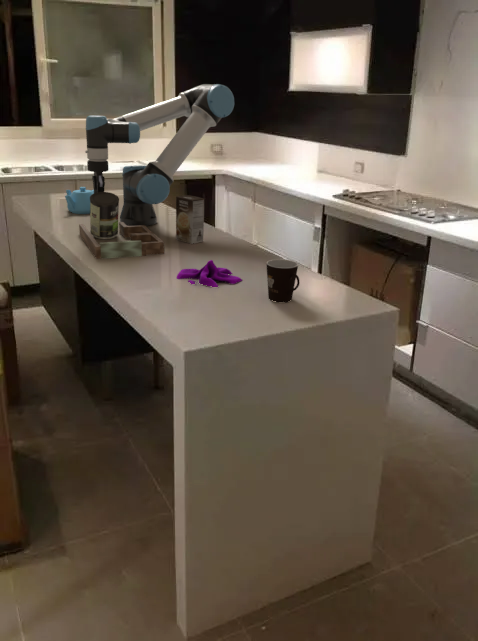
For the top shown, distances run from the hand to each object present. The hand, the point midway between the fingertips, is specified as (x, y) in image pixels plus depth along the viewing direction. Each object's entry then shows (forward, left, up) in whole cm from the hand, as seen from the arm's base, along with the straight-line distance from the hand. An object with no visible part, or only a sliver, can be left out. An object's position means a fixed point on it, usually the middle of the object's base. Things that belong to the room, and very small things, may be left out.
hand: (100, 223), depth 234 cm
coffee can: (0, +6, -2) cm, 6 cm away
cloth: (-20, +68, -4) cm, 71 cm away
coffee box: (-29, +19, -4) cm, 36 cm away
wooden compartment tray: (-4, +19, -4) cm, 19 cm away
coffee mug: (-32, +92, -4) cm, 97 cm away
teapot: (0, -43, -4) cm, 44 cm away
